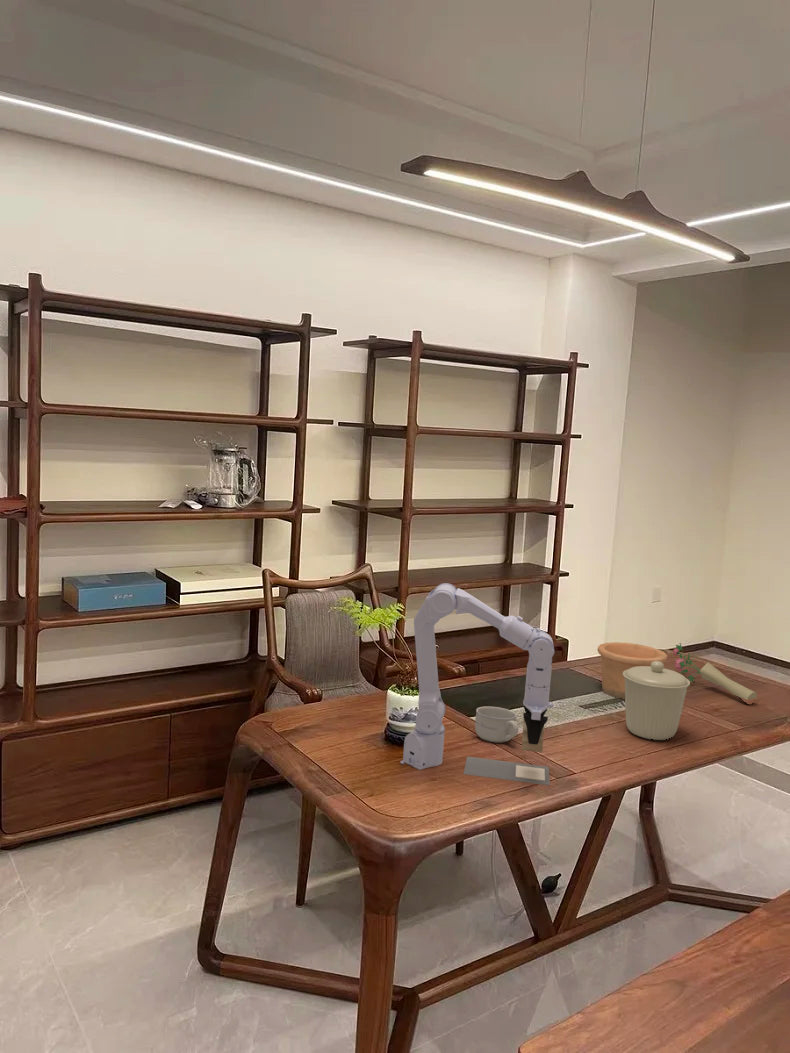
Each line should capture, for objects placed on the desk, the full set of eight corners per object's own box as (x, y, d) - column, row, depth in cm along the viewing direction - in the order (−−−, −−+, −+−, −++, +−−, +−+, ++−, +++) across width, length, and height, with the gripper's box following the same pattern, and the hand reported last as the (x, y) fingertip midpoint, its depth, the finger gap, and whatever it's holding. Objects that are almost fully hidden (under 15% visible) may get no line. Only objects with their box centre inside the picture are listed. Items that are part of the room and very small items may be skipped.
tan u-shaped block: (542, 752, 189) (544, 727, 188) (521, 750, 189) (523, 725, 189) (542, 745, 193) (543, 721, 193) (521, 742, 194) (523, 718, 193)
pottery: (615, 704, 252) (619, 660, 251) (582, 683, 274) (586, 641, 272) (676, 703, 257) (680, 659, 256) (640, 682, 279) (644, 642, 277)
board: (463, 777, 189) (463, 773, 189) (466, 760, 200) (467, 755, 200) (549, 789, 186) (549, 784, 186) (548, 770, 197) (549, 766, 197)
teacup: (467, 734, 218) (469, 705, 217) (502, 731, 222) (505, 703, 221) (491, 754, 205) (493, 724, 204) (528, 751, 209) (530, 721, 208)
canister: (648, 749, 216) (656, 672, 213) (604, 725, 232) (610, 654, 230) (698, 742, 223) (706, 668, 221) (652, 720, 240) (659, 651, 237)
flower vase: (736, 726, 262) (656, 674, 290) (762, 712, 267) (680, 662, 295) (739, 697, 257) (657, 646, 285) (765, 683, 261) (682, 635, 290)
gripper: (556, 695, 182) (550, 752, 183) (554, 677, 196) (549, 731, 198) (524, 691, 183) (519, 749, 184) (525, 674, 197) (520, 727, 199)
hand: (533, 739), depth 191 cm, fingers closed on tan u-shaped block, 5 cm apart
